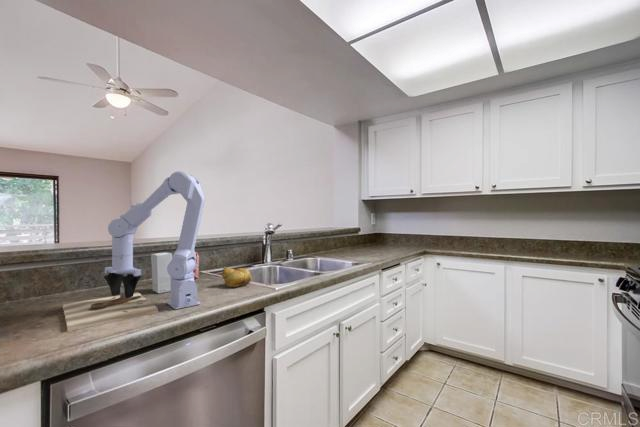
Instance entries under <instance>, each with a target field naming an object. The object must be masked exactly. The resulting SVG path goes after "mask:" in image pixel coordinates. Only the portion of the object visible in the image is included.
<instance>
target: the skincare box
mask: <svg viewBox="0 0 640 427" xmlns="http://www.w3.org/2000/svg"><path fill="white" fill-rule="evenodd" d="M150 256H151V260H150V261H151V285H152V286H151V287H152V288H151V289H152V291H153V292H154V293H156V294H161V293H162V294H163V293H169V292H170V293H171V276H170V275H169V274H168V272H167V266H168V264H169V263H170V262H171V260H172V258H173V253H171V252H158V253H151V255H150Z"/></svg>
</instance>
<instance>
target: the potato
mask: <svg viewBox="0 0 640 427" xmlns="http://www.w3.org/2000/svg"><path fill="white" fill-rule="evenodd" d="M221 276H222V279H223V280H224V284H225V285H226V286H227V287H229V288H238V287H242V286H246V285H248V284H249V283H250V282H251V281H252V275H251V272H250V271H249V270H248V269H247V268H244V267H240V268H236V269H234V268H231V267H227V266H226V267H223V269H222V271H221Z"/></svg>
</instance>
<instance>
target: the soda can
mask: <svg viewBox="0 0 640 427" xmlns="http://www.w3.org/2000/svg"><path fill="white" fill-rule="evenodd" d="M195 253H196V257H195V259H196V268H195V270H194V271H193V273H194V281H195V283H196V282H197V281H198V280H199V279H200V278H199V277H200V276H199V275H200V274H199V273H200V271H199V270H200V255H199V254H198V253H199V251H195Z"/></svg>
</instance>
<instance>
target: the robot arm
mask: <svg viewBox="0 0 640 427" xmlns="http://www.w3.org/2000/svg"><path fill="white" fill-rule="evenodd" d="M171 195H181V196H182V198H183V199H184V200H185V202H186V207H185V211H184V212H185V213H184V216H183V221H182V225H181V230H180V233H179V234H180V235H179V240H178V243H177V247H176V250H175V251H174V253H172V260H171V262H170V263H169V264H168V266H167V272H168V274H169V275H170V276H171V292H170V300H168V301H166V304H167V305H168V306H170V307H172V308H173V309H174V310H179V309H183V308H184V309H185V308H187V307H193V306H197V305H198V306H199V305H200V304H201V302H200V301H199V300H198V284H197V283H196V282H195V281H194V273H193V271H194V270H195V268H196V259H195V257H196V253H195V252H196V251H195V247H196V243H197V238H198V235H199V230H200V229H199V228H200V224H201V220H202V215H203V212H204V206H205V202H206V201H205V200H206V199H205V196H204V193H203V190H202V188H201V182H200V181H199V180H198V179H197V178H196V177H195V176H194V175H191V174H187V173H185V172H183V171H179V170H178V171H174V172H173V173H171V175H170V176H168V177H166V178H165V179H164V181H162V183H161V185H160V186H158V187H157V188H156V189H155V190H154V191H153V192H152V193H151V194H150V196H148V197H147V198H146V199H145V200H144V201H143V202H142V203H141V202H137V203H136V204H135V203H133V204H132V205H130V209H129V210H128V211H126V212H125V213H124V214H121V215H120V216H119V219H117V218H116V219H112V220H111V221H110V223H109V224H108V228H107V230H108V231H107V232H108V234H110V235H111V242H112V243H111V244H112V245H111V246H112V248H111V252H112V253H111V255H112V256H111V266H108V267H104V274H106V275H104V277H103V278H104V280H105V281H106V283H107V284H108V287H109V289H110V293H111V296H117V295H120V286H122V285H124V289H125V297H126V298H129V297H132V296H133V294H134V293H135V292H136V291H135V290H136V287H137V285H138V283H139V281H140V279H141V278H142V269H141V268H140V269H139V268H137V267H134V235H135V234H136V232H137V230H138V227H139V226H141V225H142V224H143V223H144V222H145V221H147V220H148V219H149V218H150V217H151V216H152V210H153V209H155V208H156V207H157V206H158V205H160V204H161V203H162V202H163V201H164V200H165V199H168V197H169V196H171ZM122 283H123V284H122Z"/></svg>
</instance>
